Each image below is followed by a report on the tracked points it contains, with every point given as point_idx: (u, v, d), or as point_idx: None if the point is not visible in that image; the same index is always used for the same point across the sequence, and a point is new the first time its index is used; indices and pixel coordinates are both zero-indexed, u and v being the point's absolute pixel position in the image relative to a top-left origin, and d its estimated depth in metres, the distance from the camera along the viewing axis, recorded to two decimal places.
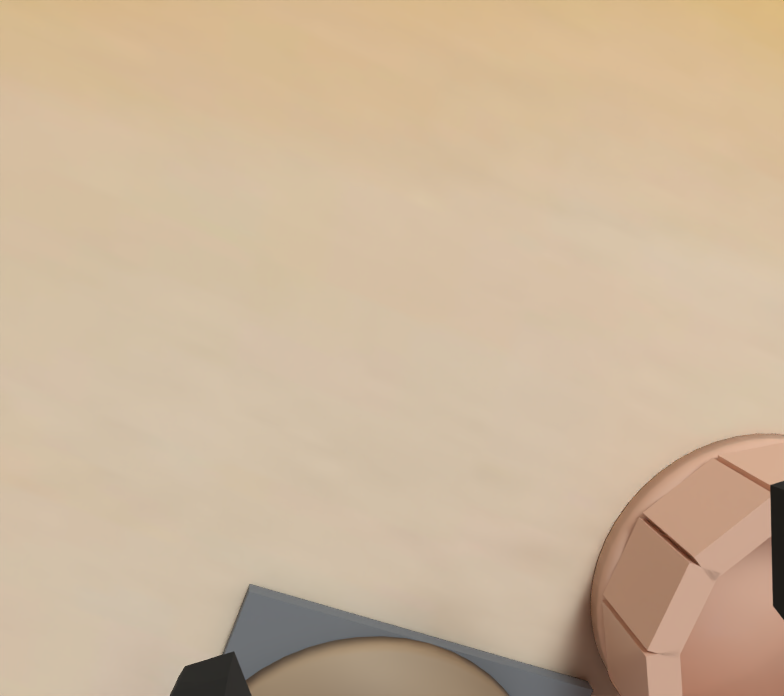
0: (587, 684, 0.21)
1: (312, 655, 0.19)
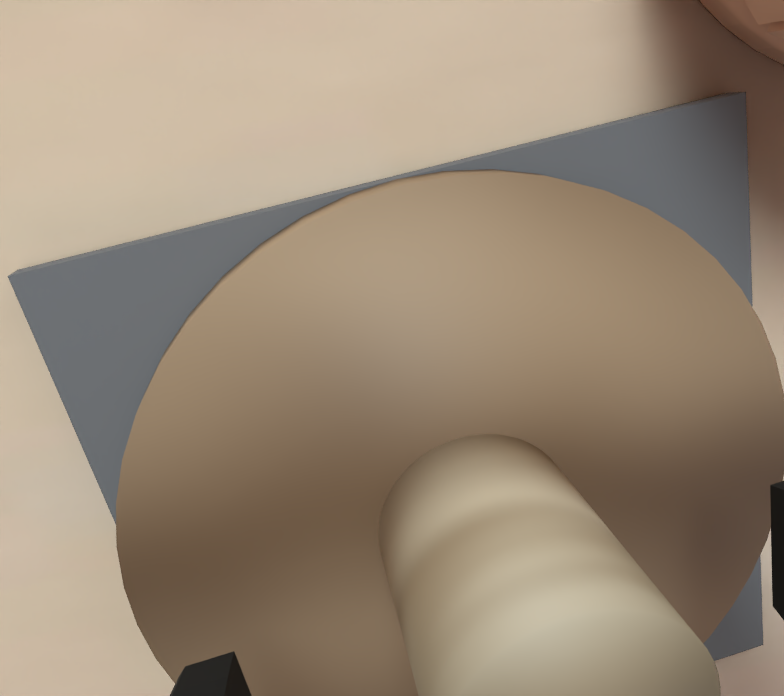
0: (730, 93, 0.11)
1: (193, 314, 0.10)
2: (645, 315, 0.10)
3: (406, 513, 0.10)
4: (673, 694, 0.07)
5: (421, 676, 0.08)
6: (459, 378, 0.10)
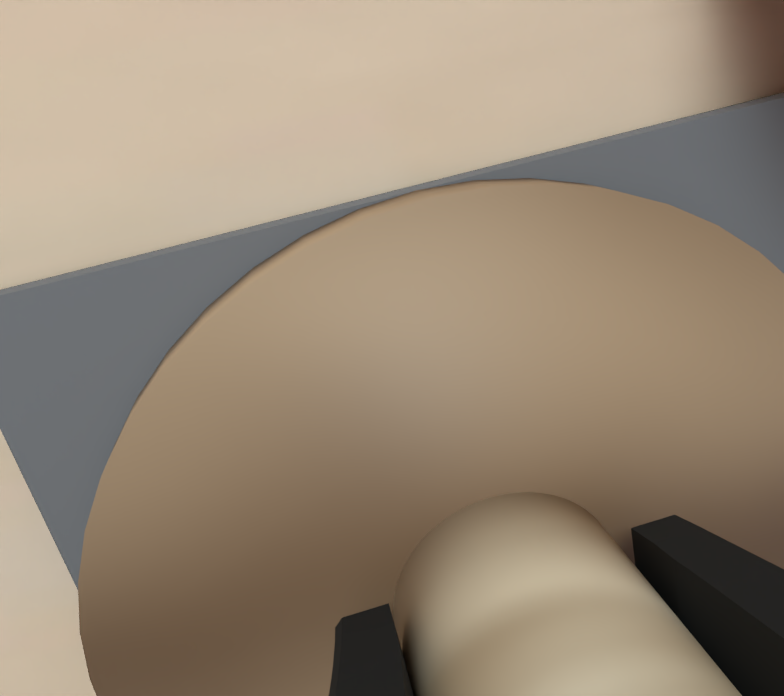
0: None
1: (170, 355, 0.08)
2: (712, 351, 0.09)
3: (429, 593, 0.08)
4: None
5: None
6: (492, 428, 0.09)
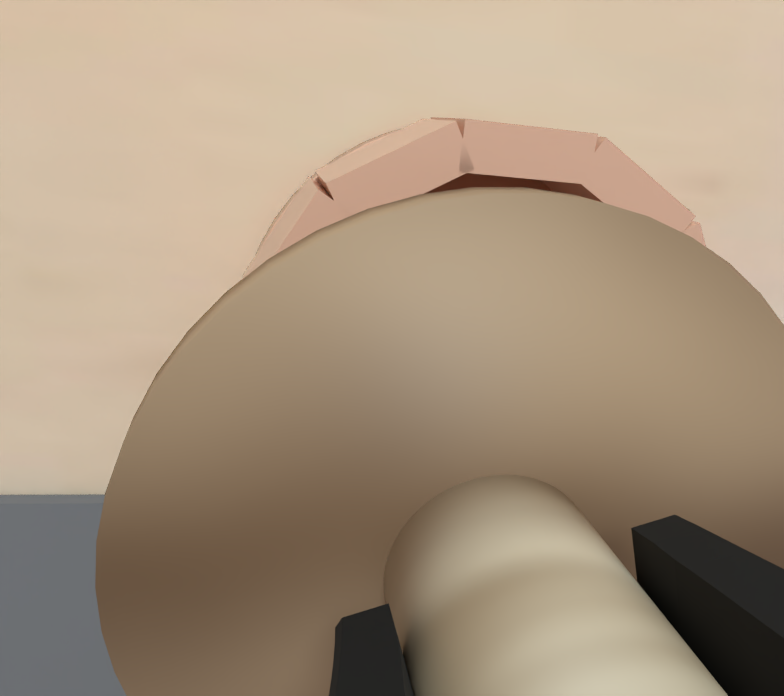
0: None
1: (231, 295, 0.09)
2: (706, 375, 0.10)
3: (429, 551, 0.09)
4: None
5: None
6: (504, 411, 0.09)
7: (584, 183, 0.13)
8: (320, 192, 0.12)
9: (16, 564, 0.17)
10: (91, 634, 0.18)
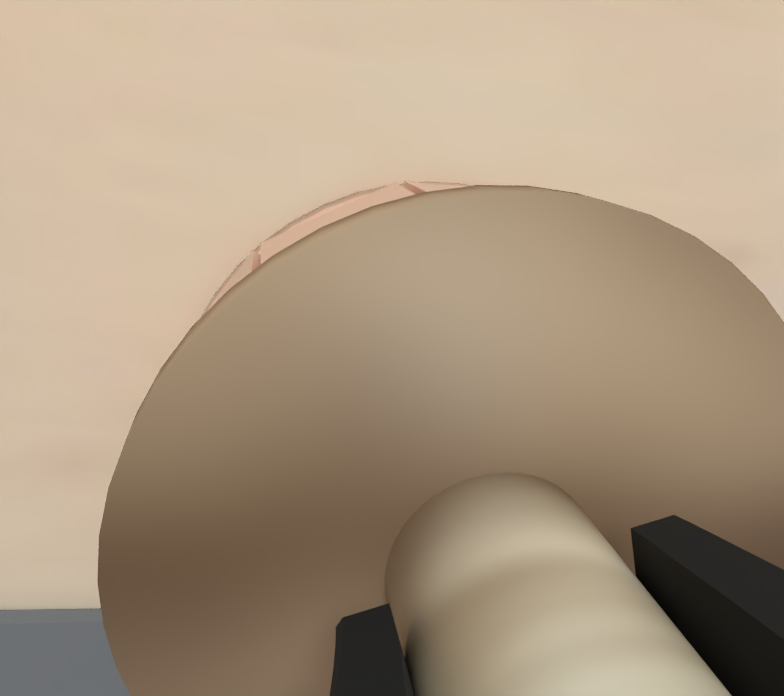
0: None
1: (236, 291, 0.09)
2: (708, 373, 0.10)
3: (431, 547, 0.09)
4: None
5: None
6: (507, 409, 0.09)
7: None
8: None
9: None
10: None
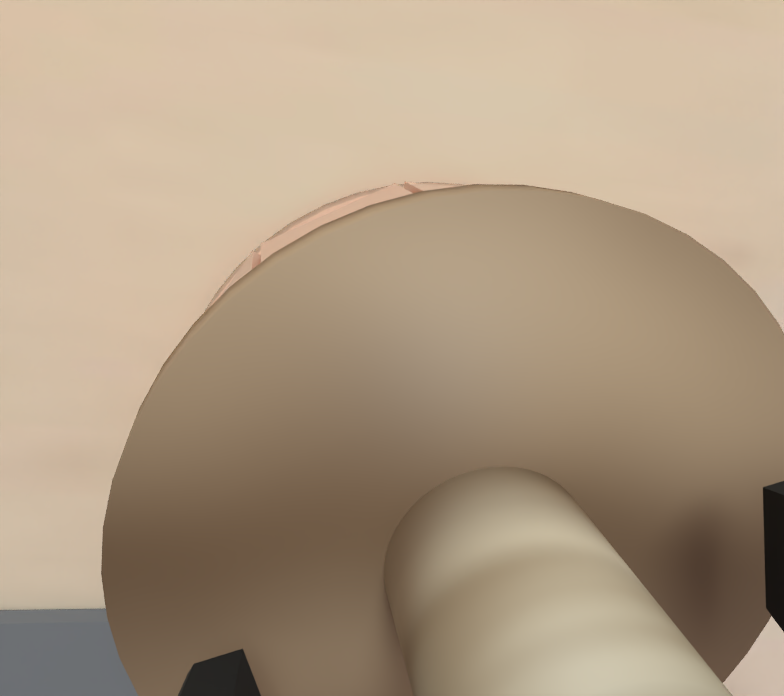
0: None
1: (237, 288, 0.09)
2: (700, 370, 0.10)
3: (428, 539, 0.09)
4: None
5: None
6: (503, 403, 0.10)
7: None
8: None
9: None
10: None
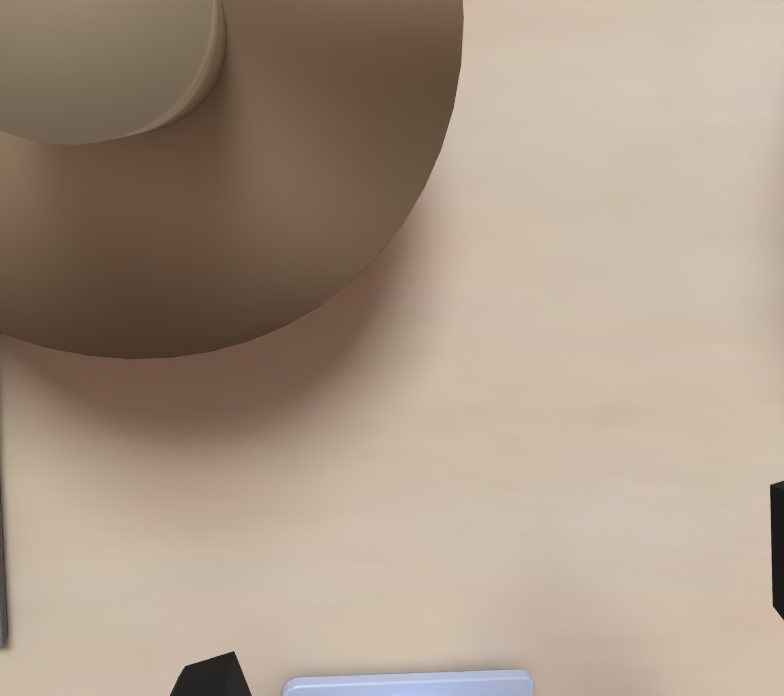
0: None
1: None
2: None
3: None
4: None
5: None
6: None
7: None
8: None
9: None
10: None
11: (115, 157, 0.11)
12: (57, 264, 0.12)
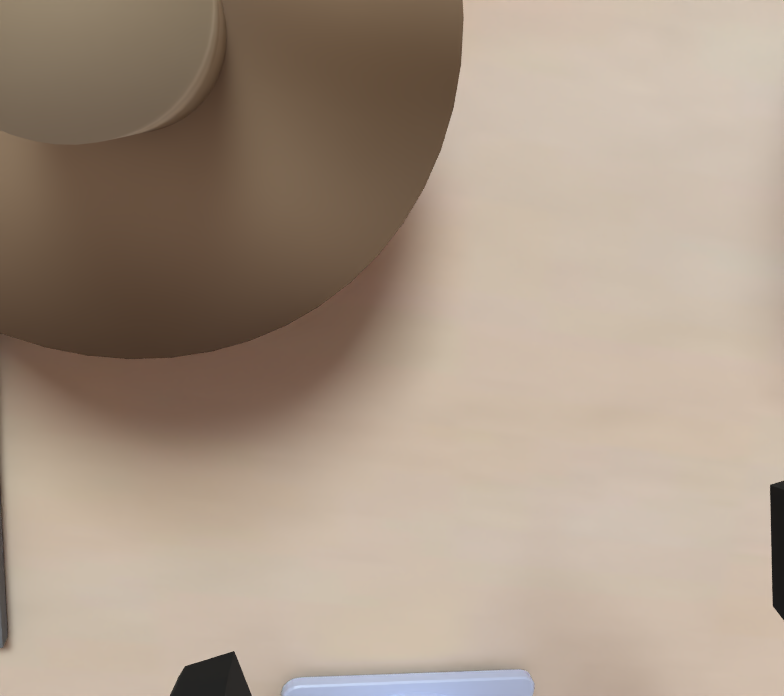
0: None
1: None
2: None
3: None
4: None
5: None
6: None
7: None
8: None
9: None
10: None
11: (115, 157, 0.11)
12: (57, 264, 0.12)
